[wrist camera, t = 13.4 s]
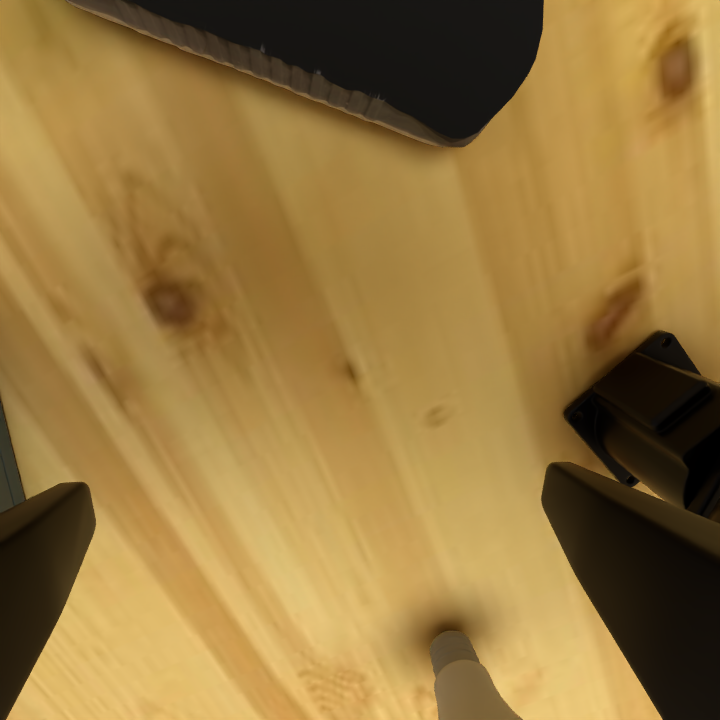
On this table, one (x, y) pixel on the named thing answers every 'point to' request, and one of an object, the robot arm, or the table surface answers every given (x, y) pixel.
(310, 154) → the table surface
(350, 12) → the black sponge
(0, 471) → the compartment
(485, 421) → the table surface
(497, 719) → the lightbulb
